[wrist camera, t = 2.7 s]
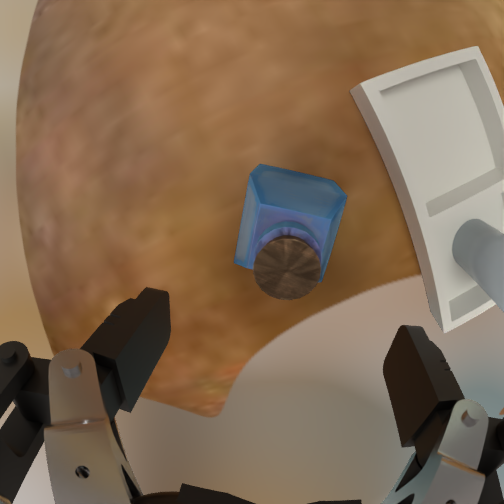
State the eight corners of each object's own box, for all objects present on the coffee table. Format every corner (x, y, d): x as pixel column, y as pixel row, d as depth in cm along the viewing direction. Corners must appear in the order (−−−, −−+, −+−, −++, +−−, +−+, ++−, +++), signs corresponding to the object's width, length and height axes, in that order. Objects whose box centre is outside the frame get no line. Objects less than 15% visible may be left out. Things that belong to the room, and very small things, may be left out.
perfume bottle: (333, 180, 23) (370, 223, 12) (315, 248, 26) (329, 334, 15) (259, 163, 24) (232, 191, 13) (246, 233, 26) (213, 309, 15)
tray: (349, 90, 20) (360, 83, 16) (455, 53, 17) (477, 45, 13) (430, 311, 27) (443, 333, 23) (511, 264, 23) (530, 280, 20)
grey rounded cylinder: (460, 214, 21) (517, 251, 13) (495, 224, 21) (551, 260, 13) (445, 264, 23) (492, 316, 15) (481, 270, 23) (528, 318, 15)
